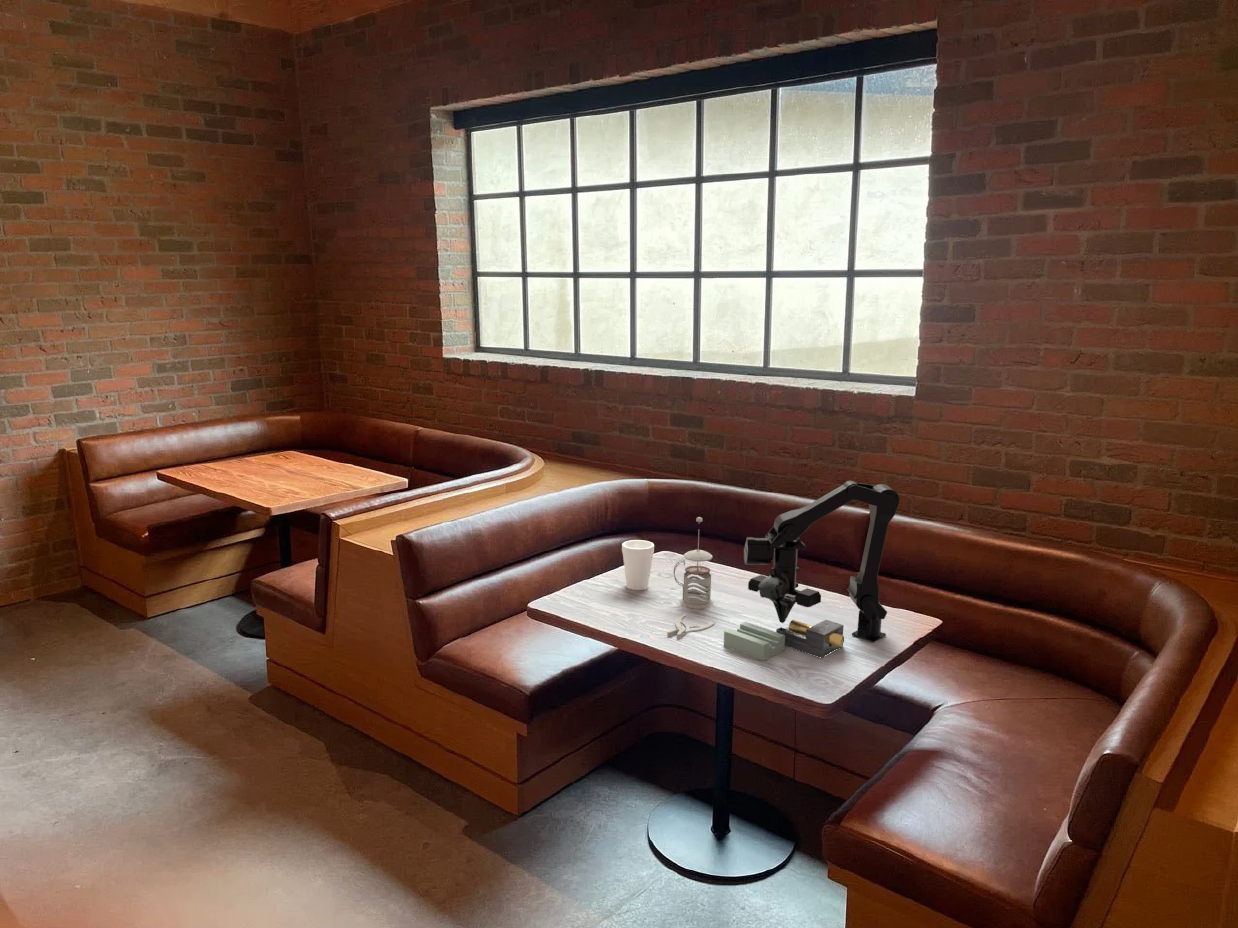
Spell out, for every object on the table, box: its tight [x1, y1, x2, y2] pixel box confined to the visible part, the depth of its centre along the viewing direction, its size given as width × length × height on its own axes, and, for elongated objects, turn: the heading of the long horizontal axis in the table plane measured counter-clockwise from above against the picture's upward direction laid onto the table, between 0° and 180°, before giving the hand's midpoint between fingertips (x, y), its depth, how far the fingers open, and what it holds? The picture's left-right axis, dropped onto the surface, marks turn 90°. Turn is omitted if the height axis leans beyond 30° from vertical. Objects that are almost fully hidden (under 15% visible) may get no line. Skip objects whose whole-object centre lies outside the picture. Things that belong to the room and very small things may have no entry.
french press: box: [673, 516, 715, 610], centre depth 245 cm, size 10×12×25 cm
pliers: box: [667, 614, 716, 640], centre depth 229 cm, size 10×2×15 cm
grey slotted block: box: [775, 619, 845, 659], centre depth 219 cm, size 10×14×6 cm
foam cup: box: [621, 539, 655, 591], centre depth 259 cm, size 10×9×13 cm
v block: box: [723, 621, 785, 662], centre depth 216 cm, size 9×12×4 cm
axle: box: [788, 619, 845, 647], centre depth 218 cm, size 3×14×3 cm, turn 46°
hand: (782, 622), depth 224 cm, fingers closed
